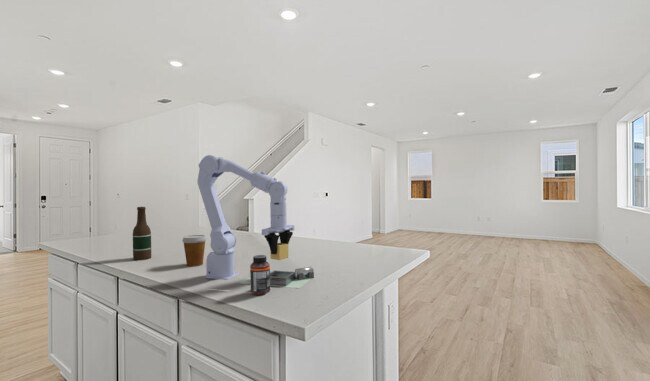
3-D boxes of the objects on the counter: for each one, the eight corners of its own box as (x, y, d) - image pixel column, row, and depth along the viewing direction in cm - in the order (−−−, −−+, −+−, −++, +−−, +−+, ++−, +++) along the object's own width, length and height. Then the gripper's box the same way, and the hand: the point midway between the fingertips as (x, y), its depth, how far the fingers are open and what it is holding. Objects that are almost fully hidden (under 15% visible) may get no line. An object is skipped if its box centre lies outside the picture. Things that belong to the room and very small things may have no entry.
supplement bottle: (252, 289, 104) (251, 254, 103) (270, 289, 104) (270, 253, 104) (249, 296, 98) (248, 258, 97) (269, 295, 98) (268, 257, 98)
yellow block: (270, 258, 117) (270, 243, 117) (279, 256, 120) (279, 241, 120) (279, 260, 114) (279, 245, 114) (288, 257, 118) (288, 243, 118)
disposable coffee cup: (180, 264, 139) (179, 236, 139) (202, 260, 145) (202, 233, 145) (186, 268, 131) (185, 238, 131) (210, 264, 137) (209, 236, 137)
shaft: (298, 281, 112) (298, 270, 112) (294, 278, 115) (294, 267, 115) (314, 278, 115) (314, 267, 115) (309, 276, 118) (309, 265, 118)
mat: (238, 284, 110) (238, 283, 110) (260, 271, 125) (260, 270, 125) (299, 289, 103) (299, 288, 103) (315, 275, 119) (315, 274, 119)
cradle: (263, 285, 108) (263, 276, 108) (274, 278, 116) (274, 270, 116) (286, 287, 106) (286, 278, 106) (295, 280, 113) (295, 271, 113)
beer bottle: (155, 257, 152) (154, 206, 152) (138, 261, 146) (137, 207, 145) (146, 256, 156) (145, 206, 156) (129, 259, 150) (128, 207, 149)
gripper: (271, 217, 109) (272, 257, 109) (300, 213, 121) (300, 250, 121) (257, 216, 113) (257, 255, 113) (286, 213, 125) (286, 248, 125)
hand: (279, 252), depth 117 cm, fingers closed on yellow block, 4 cm apart
